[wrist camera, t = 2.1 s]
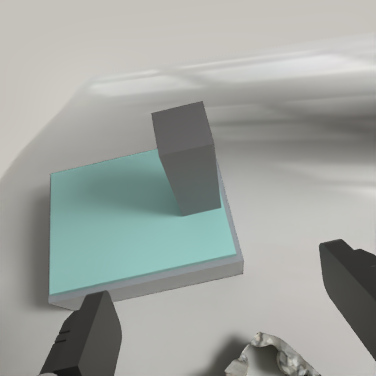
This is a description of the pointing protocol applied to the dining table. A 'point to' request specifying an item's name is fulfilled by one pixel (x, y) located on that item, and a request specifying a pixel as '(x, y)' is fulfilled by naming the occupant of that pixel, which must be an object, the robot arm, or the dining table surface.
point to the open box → (163, 279)
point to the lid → (140, 209)
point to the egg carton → (286, 358)
